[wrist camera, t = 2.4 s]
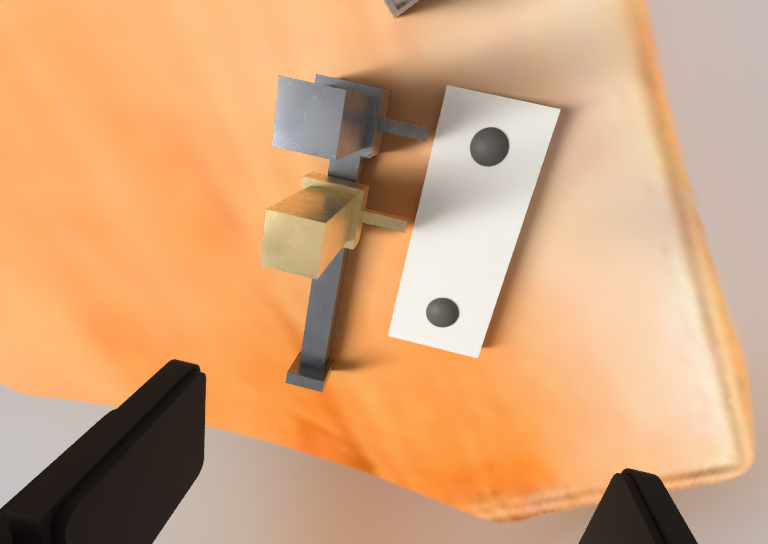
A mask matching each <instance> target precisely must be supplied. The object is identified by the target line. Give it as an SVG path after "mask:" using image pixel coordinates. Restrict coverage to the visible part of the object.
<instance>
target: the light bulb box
mask: <svg viewBox="0 0 768 544" xmlns="http://www.w3.org/2000/svg"><path fill="white" fill-rule="evenodd" d="M383 1H384V3H385V5H386V6H387V8H388V9H389V11H390V13H391V14H392V16H393V17H395V18H396V17H398V16H399V15H400V14H402V13H403V12H404V11H406V10H407V9H408V8H410V7H411V6H412V5H414V4H415V3H416V2H418V1H419V0H383Z"/></svg>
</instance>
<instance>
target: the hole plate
mask: <svg viewBox="0 0 768 544" xmlns="http://www.w3.org/2000/svg"><path fill="white" fill-rule="evenodd" d="M560 110H561V109H558V108H553V107H548V106H544V105H539V104H534V103H529V102H525V101H520V100H515V99H511V98H506V97H501V96H497V95H492V94H487V93H483V92H478V91H473V90H468V89H464V88H459V87H454V86H450V85H447V87H446V91H445V96H444V100H443V104H442V108H441V113H440V117H439V121H438V125H437V130H436V134H435V138H434V142H433V147H432V151H431V155H430V159H429V164H428V168H427V172H426V176H425V181H424V185H423V189H422V193H421V198H420V202H419V206H418V210H417V215H416V219H415V223H414V227H413V232H412V236H411V240H410V244H409V249H408V253H407V257H406V261H405V266H404V270H403V274H402V278H401V283H400V287H399V291H398V295H397V300H396V304H395V308H394V312H393V317H392V321H391V325H390V330H389V334H388V336H391V337H395V338H399V339H403V340H407V341H411V342H415V343H419V344H423V345H427V346H431V347H435V348H439V349H443V350H447V351H451V352H455V353H459V354H463V355H467V356H471V357H475V358H478V356H479V353H480V350H481V347H482V344H483V341H484V338H485V335H486V332H487V329H488V326H489V323H490V320H491V317H492V314H493V311H494V308H495V305H496V302H497V299H498V296H499V293H500V290H501V287H502V284H503V281H504V278H505V275H506V272H507V269H508V266H509V263H510V260H511V257H512V254H513V251H514V248H515V245H516V242H517V239H518V236H519V233H520V230H521V227H522V224H523V221H524V218H525V215H526V212H527V209H528V206H529V203H530V200H531V197H532V194H533V191H534V188H535V185H536V182H537V179H538V176H539V173H540V170H541V167H542V164H543V161H544V158H545V155H546V152H547V149H548V146H549V143H550V140H551V137H552V134H553V131H554V128H555V125H556V122H557V119H558V116H559V113H560Z"/></svg>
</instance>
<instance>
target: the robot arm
mask: <svg viewBox="0 0 768 544" xmlns="http://www.w3.org/2000/svg"><path fill="white" fill-rule="evenodd" d="M205 397H206V375H205V373H202V372H200V367H199V365H197V364H192V363H188V362H184V361H180V360H176V359H174V360H171V361H169V362H168V363H167V364H166V365H165V366H164V367H162V368H161V369H160V370H159V371H158V372H157V373H156V374H155V375H154V376H153V377H151V378H150V379H149V380H148V381H147V382H146V383H145V384H144V385H143V386H142V387H140V388H139V389H138V390H137V391H136V392H135V393H134V394H133V395H132V396H130V397H129V398H128V399H127V400H126V401H125V402H124V403H123V404H122V405H121V406H119V407H118V408H117V409H115V410H112V411H110V412H109V413H108V414H106V415H105V416H104V417H103V418H102V419H101V420H99V421H98V422H97V423H96V424H95V425H94V426H93V427H91V428H90V429H89V430H88V431H87V432H86V433H85V434H84V435H83V436H81V437H80V438H79V439H78V440H77V441H76V442H75V443H74V444H73V445H71V447H69V448H68V449H67V450H66V451H65V452H64V453H62V454H61V455H60V456H59V457H58V458H57V459H56V460H55V461H53V462H52V463H51V464H50V465H49V466H48V467H47V468H46V469H45V470H43V471H42V472H41V473H40V474H39V475H38V476H37V477H36V478H34V479H33V480H32V481H31V482H30V483H29V484H28V485H27V486H26V487H24V488H23V489H22V490H21V491H20V492H19V493H18V494H17V495H15V496H14V497H13V498H12V499H11V500H10V501H9V502H8V503H6V504H5V505H4V506H3V507H2V508H1V509H0V544H152V543H153V542H154V540H155V539H156V537H157V536H158V534H159V533H160V531H161V530H162V528H163V527H164V525H165V524H166V522H167V521H168V519H169V518H170V516H171V515H172V514H173V512H174V511H175V509H176V508H177V506H178V505H179V503H180V502H181V500H182V499H183V497H184V496H185V494H186V493H187V492H188V490H189V489H190V487H191V486H192V484H193V483H194V481H195V480H196V478H197V477H198V475H199V473H200V471H201V469H202V466H203V462H204V437H205V436H204V435H205ZM579 544H698V543H697V542H696V540H695V538H694V536H693V535H692V533H691V531H690V529H689V528H688V526H687V524H686V523H685V521H684V519H683V517H682V516H681V514H680V512H679V510H678V509H677V507H676V505H675V504H674V502H673V500H672V498H671V497H670V495H669V493H668V491H667V490H666V488H665V486H664V484H663V483H662V481H661V480H660V478H659V477H658V476H656V475H654V474H650V473H646V472H642V471H638V470H634V469H628V468H626V469H624V470H623V471H622V473H621V474H620V473H616V474H615V475H614V476H613V477H612V479H611V481H610V483H609V485H608V487H607V489H606V491H605V493H604V495H603V497H602V499H601V501H600V503H599V505H598V507H597V509H596V511H595V513H594V515H593V517H592V519H591V520H590V522H589V524H588V526H587V528H586V531H585V532H584V534H583V536H582V538H581V540H580V542H579Z"/></svg>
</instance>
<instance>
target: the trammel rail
mask: <svg viewBox="0 0 768 544" xmlns="http://www.w3.org/2000/svg"><path fill="white" fill-rule="evenodd" d="M390 95H391V91H389V90H386V89H383V88H378V87H374V86H369V85H364V84H360V83H355V82H351V81H346V80H341V79H337V78H332V77H327V76H323V75H318V74H316V79H315V83H311V82H306V81H302V80H297V79H292V78H288V77H283V76H279V83H278V93H277V103H276V113H275V124H274V134H273V144H272V146H273V147H278V148H282V149H287V150H291V151H295V152H300V153H304V154H309V155H313V156H317V157H322V158H326V159H330V163H329V170H328V176H331V177H335V178H340V179H344V180H348V181H353V182H357V183H360V177H361V172H362V166H363V161H364V157H366V158H372V157H373V156H375V155H377V154H378V153H379V152H380V147H381V142H382V137H383V132H387V133H391V134H396V135H400V136H405V137H409V138H414V139H418V140H423V141H426V137H427V133H428V129H429V127H425V126H421V125H416V124H412V123H407V122H403V121H398V120H394V119H389V118H386V116H387V111H388V105H389V100H390ZM347 250H348V248H344V247H342V248H341V250H340V251H339V252H338V253H337V255H336V256H335V257H334V258H333V260H332V261H331V262H330V264H329V265H328V266H327V267H326V269H325V270H324V271H323V273H322V274H321V275H320V276H319V278H318V279H313V278H312V284H311V290H310V297H309V304H308V310H307V317H306V324H305V331H304V337H303V344H302V351H301V353H299V354H298V356H297V357H296V359H295V361H294V362H293V364H292V366H291V367H290V369H289V370H288V372H287V378H286V383H289V384H293V385H297V386H301V387H304V388H308V389H312V390H316V391H320V392H323V389H324V387H325V385H326V383H327V381H328V378H329V376H330V374H331V372H332V368H333V362H334V361H332V360H328V357H329V351H330V346H331V340H332V334H333V329H334V323H335V318H336V312H337V306H338V301H339V295H340V290H341V284H342V278H343V273H344V267H345V261H346V256H347Z"/></svg>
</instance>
